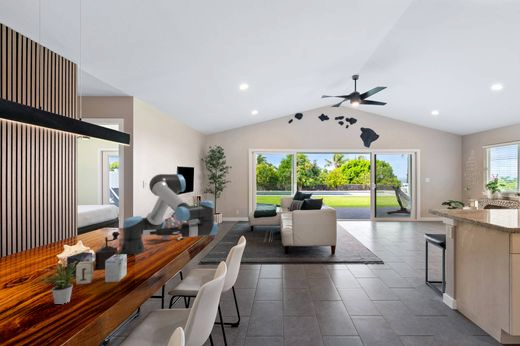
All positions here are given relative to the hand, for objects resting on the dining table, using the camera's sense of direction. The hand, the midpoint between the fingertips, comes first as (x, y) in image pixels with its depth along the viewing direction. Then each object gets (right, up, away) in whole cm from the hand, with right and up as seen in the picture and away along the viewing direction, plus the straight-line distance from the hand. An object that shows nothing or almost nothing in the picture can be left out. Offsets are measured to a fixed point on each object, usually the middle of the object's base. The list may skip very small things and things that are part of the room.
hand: (143, 233), depth 150 cm
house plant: (-21, -22, -31) cm, 43 cm away
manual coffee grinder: (-28, -22, +17) cm, 40 cm away
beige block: (-25, -22, -9) cm, 35 cm away
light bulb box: (-12, -22, -5) cm, 26 cm away
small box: (-34, -22, 0) cm, 40 cm away
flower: (-10, -23, +81) cm, 84 cm away
